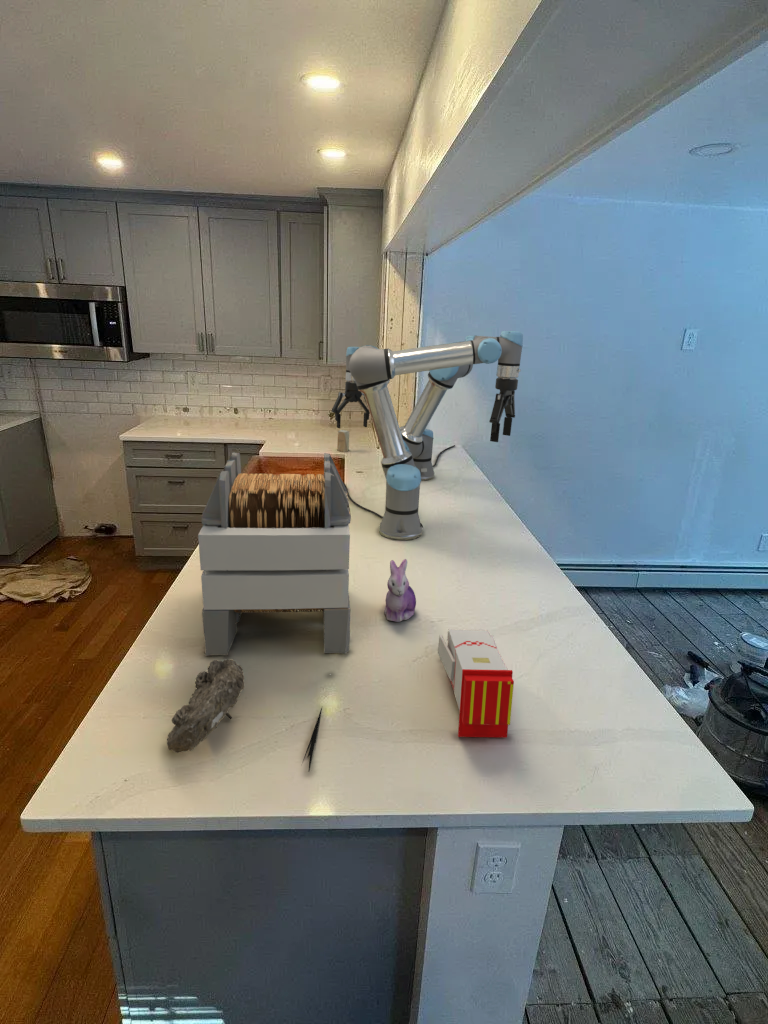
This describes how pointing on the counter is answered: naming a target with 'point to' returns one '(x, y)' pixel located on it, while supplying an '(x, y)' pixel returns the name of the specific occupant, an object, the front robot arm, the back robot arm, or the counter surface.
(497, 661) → the toy
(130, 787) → the counter surface
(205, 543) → the cotton gin model
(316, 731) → the feather
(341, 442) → the box
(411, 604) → the figurine
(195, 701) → the fossil
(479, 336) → the front robot arm
